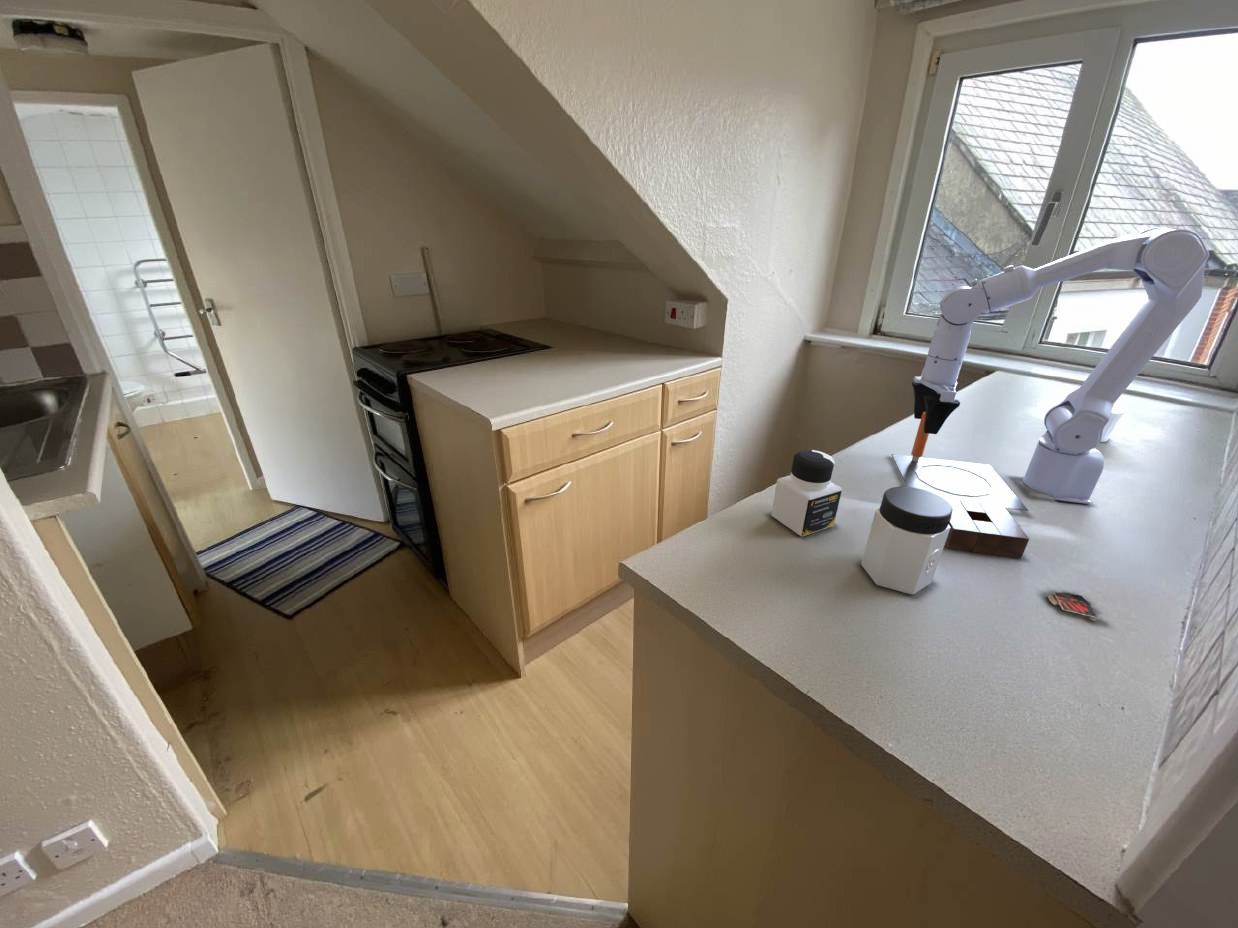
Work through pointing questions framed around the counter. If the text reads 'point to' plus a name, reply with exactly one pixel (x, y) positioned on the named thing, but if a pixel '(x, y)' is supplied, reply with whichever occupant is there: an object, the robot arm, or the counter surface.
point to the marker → (919, 440)
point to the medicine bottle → (807, 494)
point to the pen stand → (984, 529)
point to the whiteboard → (957, 480)
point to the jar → (907, 539)
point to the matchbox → (1073, 604)
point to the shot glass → (1111, 423)
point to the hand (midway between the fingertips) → (925, 425)
